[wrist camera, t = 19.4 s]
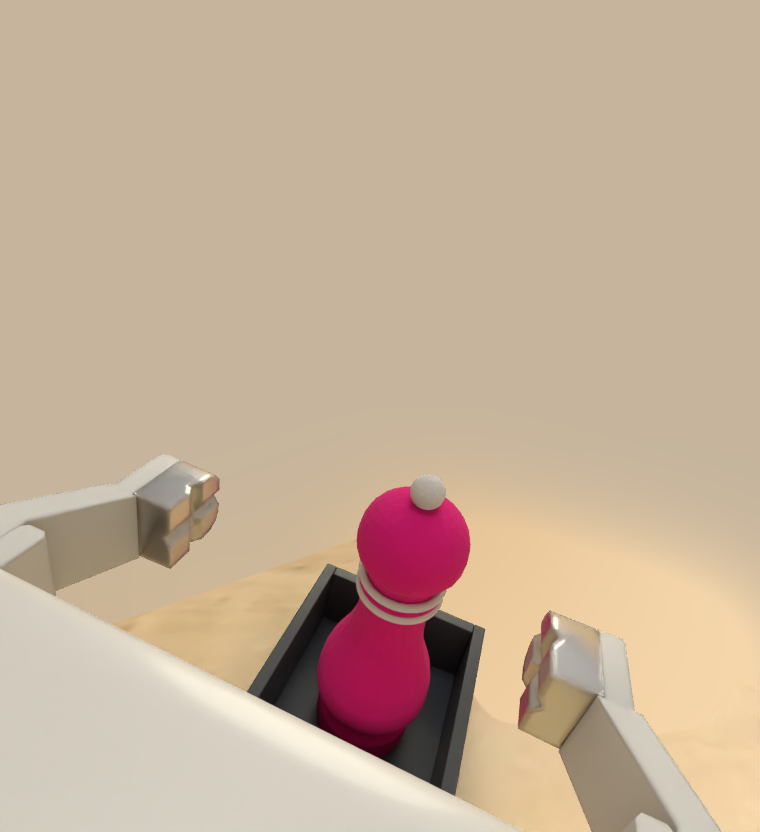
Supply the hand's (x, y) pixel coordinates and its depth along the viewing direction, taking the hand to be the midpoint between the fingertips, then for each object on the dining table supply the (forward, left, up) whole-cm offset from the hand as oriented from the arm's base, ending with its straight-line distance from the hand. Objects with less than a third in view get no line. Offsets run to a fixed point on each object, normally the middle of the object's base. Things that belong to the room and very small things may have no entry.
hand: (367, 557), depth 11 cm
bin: (0, +12, -26) cm, 29 cm away
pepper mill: (0, +12, -26) cm, 28 cm away
